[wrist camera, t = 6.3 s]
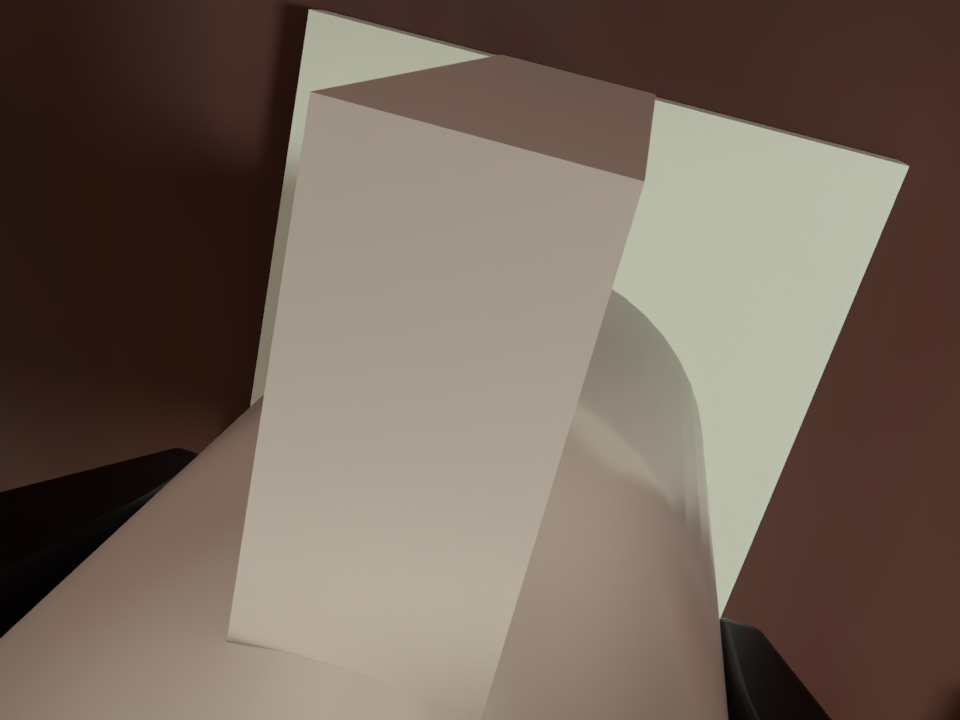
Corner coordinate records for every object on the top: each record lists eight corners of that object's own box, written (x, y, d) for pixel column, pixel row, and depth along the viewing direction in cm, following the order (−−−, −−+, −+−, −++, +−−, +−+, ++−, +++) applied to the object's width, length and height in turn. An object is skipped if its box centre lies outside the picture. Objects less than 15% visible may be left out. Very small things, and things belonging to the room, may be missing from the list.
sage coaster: (899, 160, 13) (909, 166, 13) (701, 636, 17) (703, 657, 16) (322, 9, 14) (308, 8, 13) (248, 494, 17) (235, 509, 17)
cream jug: (634, 657, 13) (574, 1860, 4) (288, 547, 13) (-355, 1441, 5) (838, 117, 10) (1813, 653, 1) (384, 0, 10) (-814, -90, 2)
